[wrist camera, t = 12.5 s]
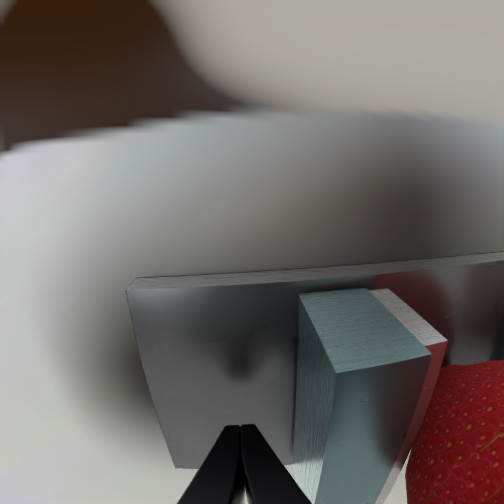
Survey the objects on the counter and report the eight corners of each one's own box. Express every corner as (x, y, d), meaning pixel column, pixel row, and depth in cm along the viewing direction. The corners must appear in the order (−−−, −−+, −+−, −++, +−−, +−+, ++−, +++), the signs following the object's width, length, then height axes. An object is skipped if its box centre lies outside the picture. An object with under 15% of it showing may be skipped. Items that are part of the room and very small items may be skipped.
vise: (534, 248, 10) (609, 280, 5) (495, 390, 12) (542, 439, 7) (135, 277, 9) (63, 365, 4) (178, 451, 11) (164, 542, 6)
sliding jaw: (384, 285, 8) (456, 347, 5) (353, 456, 10) (378, 522, 7) (298, 293, 8) (336, 372, 5) (292, 466, 10) (305, 538, 7)
